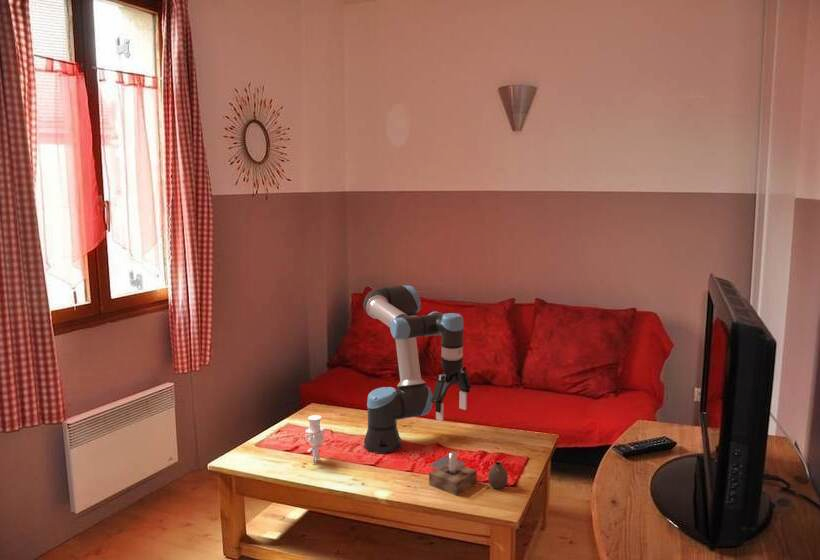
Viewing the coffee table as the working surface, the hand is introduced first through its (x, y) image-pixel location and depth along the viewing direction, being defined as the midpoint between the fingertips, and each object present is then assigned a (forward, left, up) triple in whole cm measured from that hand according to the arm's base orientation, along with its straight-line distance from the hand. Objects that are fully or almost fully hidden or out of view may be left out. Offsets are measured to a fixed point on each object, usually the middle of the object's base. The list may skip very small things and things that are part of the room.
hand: (451, 414), depth 233 cm
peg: (+4, -5, -24) cm, 25 cm away
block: (+4, -5, -24) cm, 25 cm away
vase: (+17, +4, -24) cm, 30 cm away
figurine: (-48, -23, -24) cm, 58 cm away
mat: (-7, +7, -24) cm, 26 cm away
